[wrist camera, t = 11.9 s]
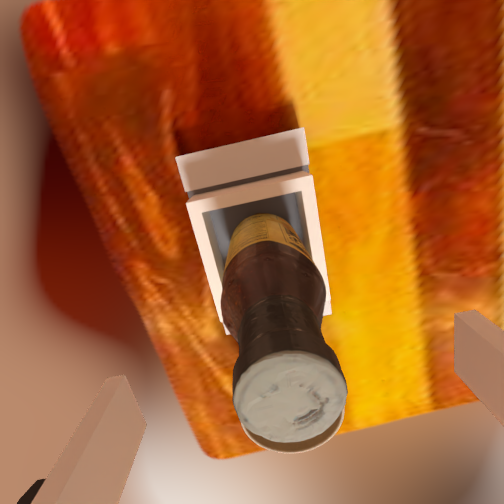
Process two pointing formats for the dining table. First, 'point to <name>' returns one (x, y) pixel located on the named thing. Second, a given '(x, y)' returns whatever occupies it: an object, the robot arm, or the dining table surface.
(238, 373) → the sauce bottle
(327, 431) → the flower pot
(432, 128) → the dining table surface
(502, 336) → the robot arm
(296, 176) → the caddy
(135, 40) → the dining table surface
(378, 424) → the dining table surface
